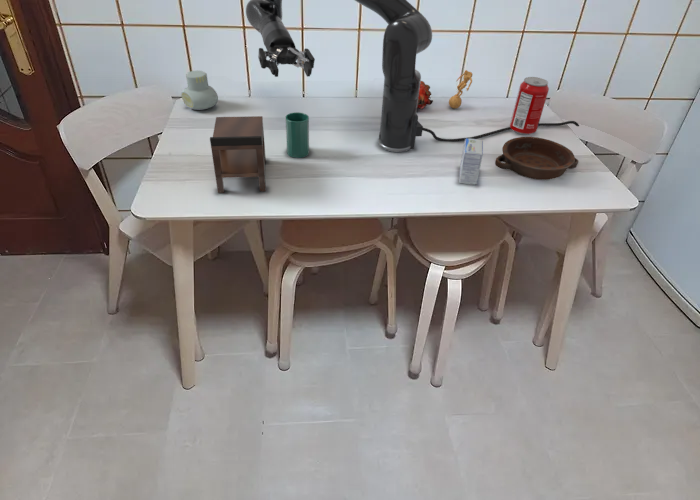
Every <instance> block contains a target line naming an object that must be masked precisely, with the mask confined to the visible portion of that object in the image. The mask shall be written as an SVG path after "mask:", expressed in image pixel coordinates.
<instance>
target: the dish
mask: <svg viewBox="0 0 700 500" xmlns="http://www.w3.org/2000/svg"><path fill="white" fill-rule="evenodd" d="M501 151H502V154H500V155H498V156H497V157H496V158H495V160H494V165H495V166H496V167H497V168H499V169H500V170H507V171H508V170H509V171H511V172H513V173H515V174H517V175H518V176H521V177H524V178H527V179H531V180H539V181H549V180H554V179H555V180H556V179H557V178H560V177H562V176H563V175H564V174H565V173H566V172H567V170H571V169H575V168H577V166H578V165H579V160H578V158H577V157H575V155H574V153H573V151H572V150H571V149H570V148H568V147H566V146H565V145H564V144H561V143H559V142H555V141H554V140H551V139H547V138H543V137H537V136H536V137H535V136H518V137H513V138H511V139H508V140H507V141H506V142H504V144H503V145H502V148H501Z"/></svg>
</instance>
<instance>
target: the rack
mask: <svg viewBox="0 0 700 500" xmlns="http://www.w3.org/2000/svg"><path fill="white" fill-rule="evenodd" d="M209 142H210V149H211V155H212V162H213V163H212V164H213V169H214V176H215V183H216V190H217V193H218V194H224V193H225V185H224V179H225V178H226V179H229V178H230V179H231V178H258V187H259V188H258V189H259V192H266V191H267V188H266V175H265V173H266V172H265V171H266V169H265V168H266V167H265V166H266V165H265V163H267V158H266V157H267V156H266V145H265V131H264V117H263V116H262V115H259V116H257V115H256V116H216V117H215V122H214V127H213V133H212V136H210V137H209Z"/></svg>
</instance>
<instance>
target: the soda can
mask: <svg viewBox="0 0 700 500" xmlns="http://www.w3.org/2000/svg"><path fill="white" fill-rule="evenodd" d="M548 85H549V81H548V80H547V79H545V78H542V77H537V76H527V77H525V78H524V79H523V81H522V82H520V85H519V88H518V92H517V94H516V95H517V96H516V99H515V103H514V108H513V112H512V115H511V119H510V123H509V127H511V131H513V132H514V133H516V134H519V135H524V136H528V135H533V134H535V133H536V132H537V130H538V127H539V126H538V125H539V123H540V121H541V117H542V114H543V112H544V111H543V110H544V108H545V104H546V101H547V97H548V94H549V90H550V87H549V86H548Z"/></svg>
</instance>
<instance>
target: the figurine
mask: <svg viewBox="0 0 700 500" xmlns="http://www.w3.org/2000/svg"><path fill="white" fill-rule="evenodd" d="M472 77H473V73H472V72H471V71H468V70H467V69H465V70H464V72H463V73H462V74H461V75H460V76H459V77H458V78H457V79H456V82H458V81H459V80H460V79H461V78H463V79H462V80H461V82H460V83H459V84H458V85H457V86H456V89H457V91H458V92H457V93H456V94H454V95H452V96H450V98H449V99H448V105H449V107H450V108H452V109H454V110H455V109H459V108H460V107H461V105H462V103H463V102H462V98H461V96H462V95H463V90H464V89H465V88H466V87H467V83H469V84H468V87H467V88H466V89H465V90H466V91H469V90H470V87H471V86H472V83H473V78H472Z"/></svg>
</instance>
